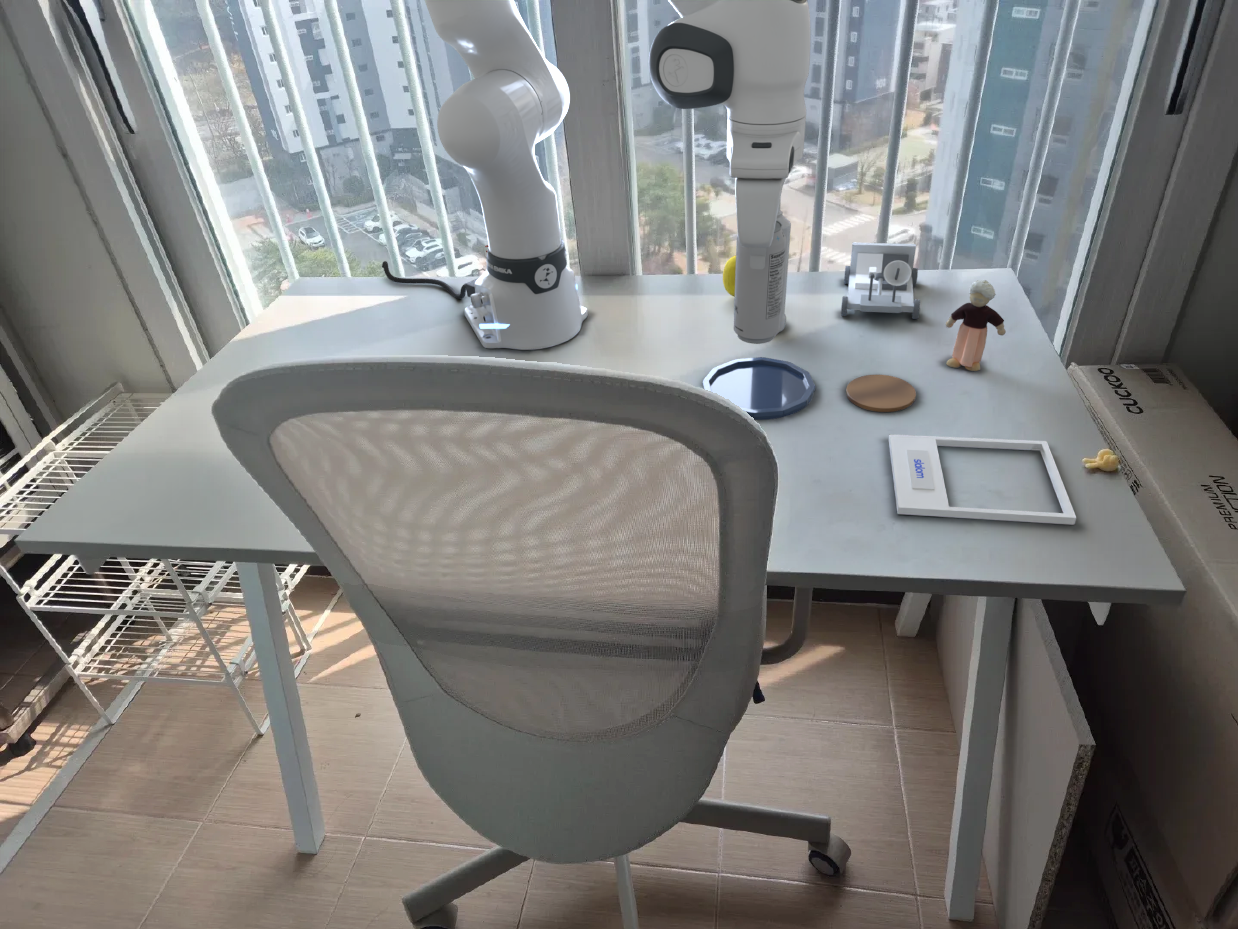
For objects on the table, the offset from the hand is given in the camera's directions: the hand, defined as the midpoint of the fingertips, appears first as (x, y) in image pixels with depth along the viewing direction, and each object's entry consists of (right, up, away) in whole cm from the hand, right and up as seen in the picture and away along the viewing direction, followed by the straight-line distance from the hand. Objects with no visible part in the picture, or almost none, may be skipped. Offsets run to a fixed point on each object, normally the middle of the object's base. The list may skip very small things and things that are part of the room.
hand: (760, 255), depth 107 cm
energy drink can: (+1, -9, +7) cm, 11 cm away
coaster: (+18, -17, +8) cm, 26 cm away
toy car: (+24, 0, +31) cm, 39 cm away
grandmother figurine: (+31, -12, +13) cm, 36 cm away
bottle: (+6, -5, +27) cm, 28 cm away
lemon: (+2, +1, +36) cm, 36 cm away
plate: (+2, -16, +11) cm, 20 cm away
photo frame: (+23, -28, -9) cm, 37 cm away
